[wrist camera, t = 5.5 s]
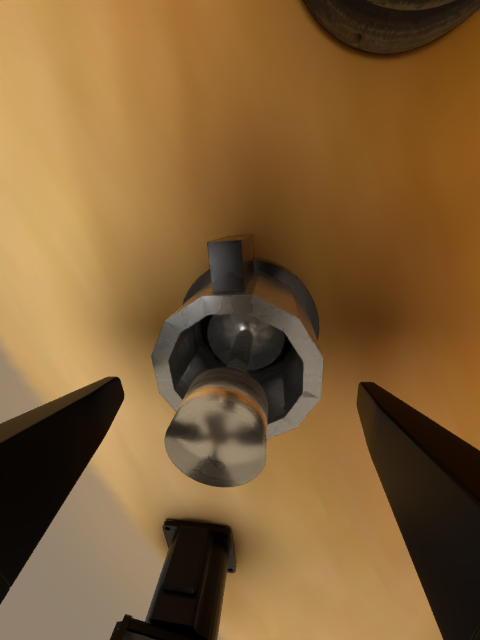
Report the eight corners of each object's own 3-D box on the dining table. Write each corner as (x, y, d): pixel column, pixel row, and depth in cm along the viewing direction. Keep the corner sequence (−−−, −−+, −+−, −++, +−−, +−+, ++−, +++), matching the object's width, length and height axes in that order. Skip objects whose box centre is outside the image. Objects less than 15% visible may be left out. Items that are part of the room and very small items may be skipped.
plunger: (284, 365, 14) (292, 509, 7) (214, 364, 15) (156, 496, 8) (284, 295, 13) (293, 389, 6) (205, 298, 13) (124, 385, 6)
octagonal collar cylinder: (314, 382, 16) (332, 456, 11) (194, 379, 17) (160, 444, 12) (321, 228, 12) (351, 233, 7) (171, 239, 14) (110, 249, 9)
